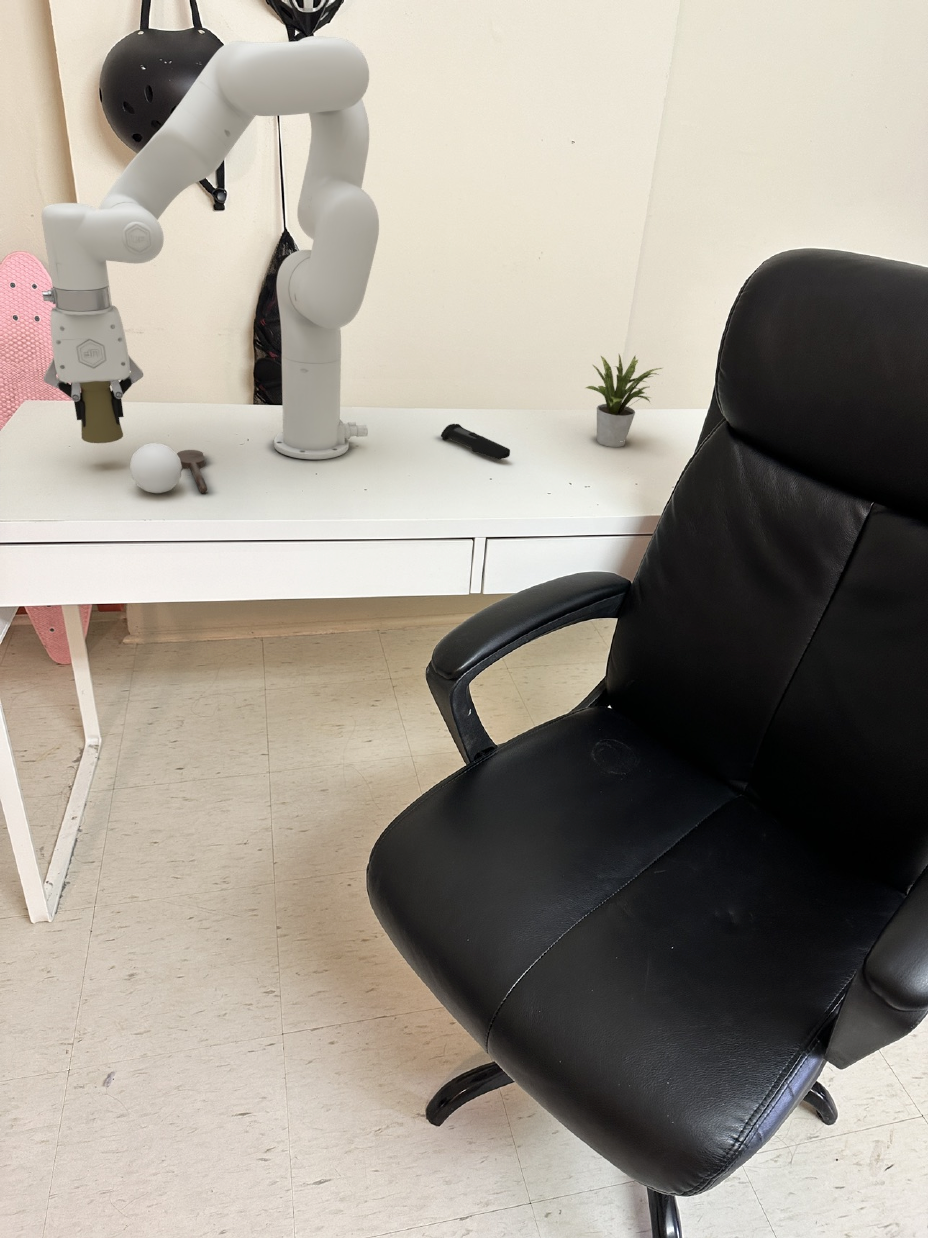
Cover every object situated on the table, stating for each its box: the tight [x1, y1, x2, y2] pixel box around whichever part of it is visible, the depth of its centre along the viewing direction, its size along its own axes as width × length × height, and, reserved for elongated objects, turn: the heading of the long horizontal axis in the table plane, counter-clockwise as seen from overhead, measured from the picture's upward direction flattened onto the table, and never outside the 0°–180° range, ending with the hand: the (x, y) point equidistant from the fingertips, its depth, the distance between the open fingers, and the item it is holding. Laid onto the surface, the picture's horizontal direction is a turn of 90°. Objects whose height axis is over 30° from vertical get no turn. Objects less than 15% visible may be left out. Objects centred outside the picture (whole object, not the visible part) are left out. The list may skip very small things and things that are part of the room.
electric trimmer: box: [440, 423, 511, 460], centre depth 166 cm, size 4×16×3 cm, turn 42°
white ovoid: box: [129, 442, 184, 494], centre depth 140 cm, size 10×7×7 cm
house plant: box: [585, 354, 663, 448], centre depth 171 cm, size 14×14×16 cm
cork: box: [80, 381, 124, 444], centre depth 142 cm, size 6×6×11 cm
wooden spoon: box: [176, 449, 209, 494], centre depth 147 cm, size 16×4×1 cm, turn 22°
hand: (100, 421), depth 143 cm, fingers closed on cork, 3 cm apart
